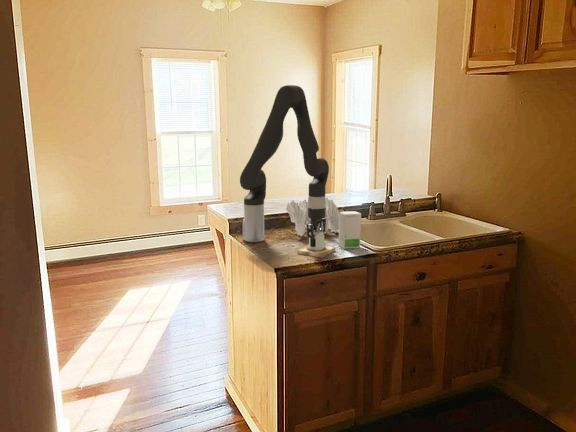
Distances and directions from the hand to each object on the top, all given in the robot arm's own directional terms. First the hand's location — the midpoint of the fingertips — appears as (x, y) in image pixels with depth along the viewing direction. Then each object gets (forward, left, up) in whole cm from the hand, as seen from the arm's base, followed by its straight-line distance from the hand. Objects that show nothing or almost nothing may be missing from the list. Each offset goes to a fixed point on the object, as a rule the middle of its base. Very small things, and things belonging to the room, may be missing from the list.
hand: (316, 244), depth 216 cm
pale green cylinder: (0, 0, -2) cm, 2 cm away
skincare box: (+9, +15, -4) cm, 18 cm away
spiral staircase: (-14, +28, -4) cm, 31 cm away
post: (0, 0, -3) cm, 3 cm away
